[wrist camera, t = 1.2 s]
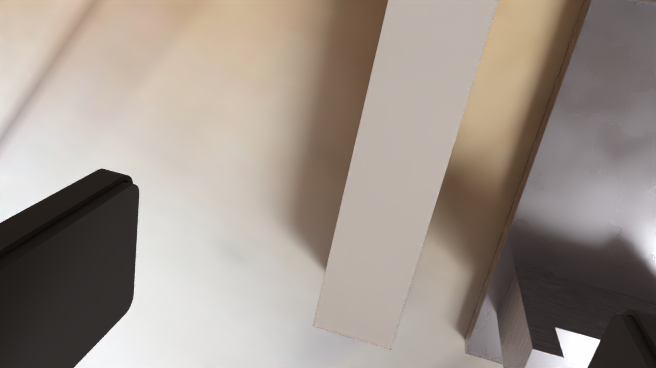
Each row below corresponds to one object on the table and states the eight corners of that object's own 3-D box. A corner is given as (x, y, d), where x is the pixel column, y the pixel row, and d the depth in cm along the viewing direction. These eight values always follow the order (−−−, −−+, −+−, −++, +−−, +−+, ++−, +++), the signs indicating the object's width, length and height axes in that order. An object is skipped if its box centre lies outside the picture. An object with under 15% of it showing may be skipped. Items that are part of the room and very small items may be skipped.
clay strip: (530, -139, 22) (550, -168, 18) (399, 295, 31) (390, 349, 26) (436, -156, 23) (432, -190, 18) (333, 275, 32) (312, 326, 27)
